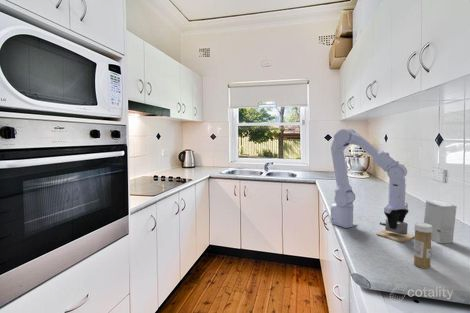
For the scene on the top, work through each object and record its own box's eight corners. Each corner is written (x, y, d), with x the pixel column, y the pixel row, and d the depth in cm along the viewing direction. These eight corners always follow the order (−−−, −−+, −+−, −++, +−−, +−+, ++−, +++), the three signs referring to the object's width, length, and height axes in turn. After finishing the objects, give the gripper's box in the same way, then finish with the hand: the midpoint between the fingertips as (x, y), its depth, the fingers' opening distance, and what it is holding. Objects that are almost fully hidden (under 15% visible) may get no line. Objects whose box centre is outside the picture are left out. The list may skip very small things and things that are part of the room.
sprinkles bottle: (433, 269, 80) (435, 227, 78) (417, 268, 80) (419, 226, 79) (425, 262, 84) (427, 222, 83) (410, 261, 85) (411, 221, 84)
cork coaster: (376, 234, 108) (376, 233, 108) (389, 229, 113) (389, 228, 113) (402, 243, 99) (402, 241, 99) (414, 237, 104) (414, 235, 104)
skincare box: (422, 235, 106) (423, 200, 105) (435, 235, 106) (437, 199, 105) (440, 244, 97) (442, 205, 96) (455, 243, 98) (457, 205, 97)
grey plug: (377, 227, 110) (377, 218, 110) (382, 225, 112) (383, 216, 112) (404, 235, 101) (404, 225, 101) (409, 233, 103) (409, 223, 103)
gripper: (397, 199, 97) (396, 234, 98) (416, 193, 105) (415, 226, 106) (379, 195, 103) (378, 228, 104) (398, 190, 111) (397, 221, 112)
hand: (395, 227), depth 106 cm, fingers closed on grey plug, 4 cm apart
